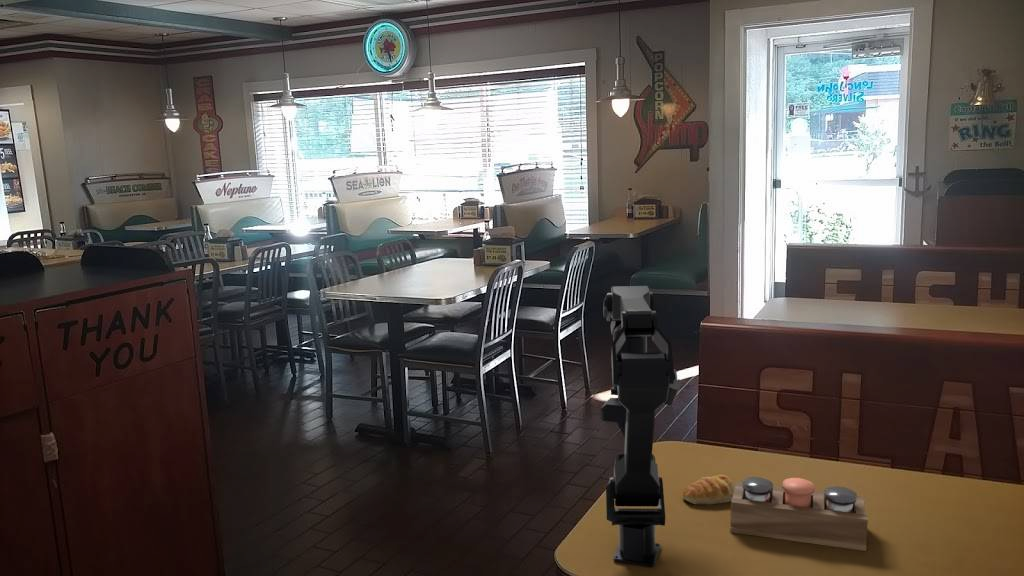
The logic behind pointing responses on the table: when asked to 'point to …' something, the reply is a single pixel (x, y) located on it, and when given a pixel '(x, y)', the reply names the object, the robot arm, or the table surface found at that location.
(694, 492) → the pastry
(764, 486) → the plunger
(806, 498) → the pink stopper
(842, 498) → the plunger
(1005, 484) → the table surface
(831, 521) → the brown wooden rack
